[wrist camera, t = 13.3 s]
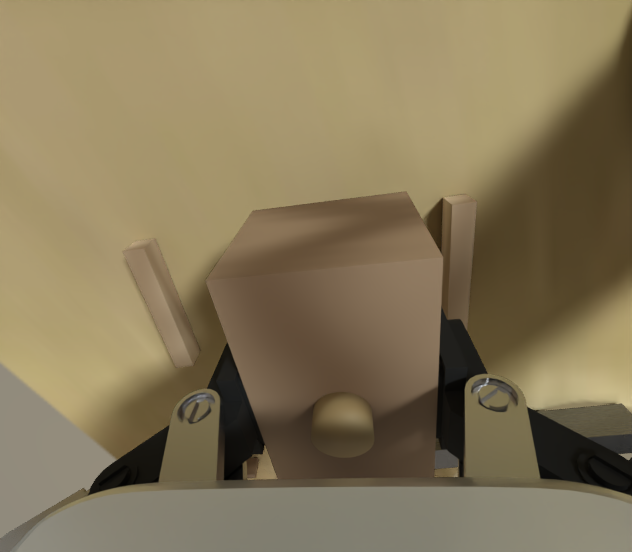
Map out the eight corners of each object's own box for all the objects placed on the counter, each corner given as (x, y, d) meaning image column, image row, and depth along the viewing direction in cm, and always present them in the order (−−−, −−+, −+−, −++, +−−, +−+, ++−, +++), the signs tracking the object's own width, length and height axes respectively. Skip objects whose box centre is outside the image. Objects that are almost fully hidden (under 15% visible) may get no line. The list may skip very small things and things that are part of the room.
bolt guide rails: (465, 194, 15) (476, 201, 14) (458, 321, 18) (466, 335, 17) (135, 241, 16) (122, 251, 15) (183, 352, 19) (175, 367, 18)
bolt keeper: (245, 425, 22) (241, 442, 21) (258, 461, 24) (255, 477, 23) (195, 430, 23) (188, 446, 22) (211, 465, 24) (206, 481, 23)
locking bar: (622, 402, 21) (669, 450, 18) (613, 424, 22) (657, 473, 19) (425, 420, 22) (440, 469, 19) (424, 440, 23) (439, 490, 20)
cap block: (406, 191, 11) (454, 277, 6) (409, 390, 15) (439, 527, 10) (252, 210, 11) (190, 301, 7) (299, 395, 16) (281, 526, 11)
